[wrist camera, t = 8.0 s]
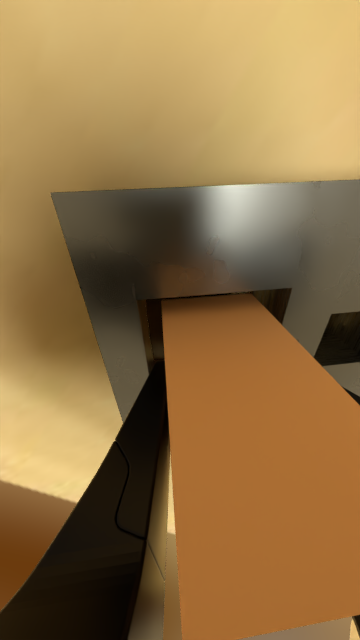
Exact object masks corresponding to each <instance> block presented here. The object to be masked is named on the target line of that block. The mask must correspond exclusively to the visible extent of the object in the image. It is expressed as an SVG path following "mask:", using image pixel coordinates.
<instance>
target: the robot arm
mask: <svg viewBox="0 0 360 640" xmlns="http://www.w3.org/2000/svg"><path fill="white" fill-rule="evenodd" d="M341 387H342V386H341ZM342 388H343V389H344V390H345V391H346V392H347V393H348V394H349V395H350V396H351V397H352V398H353V399H354V400H355V401H356V402H357V403H358V404H359V405H360V396H358V395H356V394H354V393H353V392H351V391H349V390H347V389H346V388H344V387H342ZM169 467H170V434H169V418H168V402H167V386H166V371H165V360H161V361H156V362H155V364H154V366H153V368H152V370H151V372H150V374H149V376H148V378H147V379H146V381H145V383H144V385H143V387H142V389H141V391H140V393H139V395H138V397H137V398H136V400H135V402H134V404H133V406H132V408H131V410H130V412H129V414H128V416H127V417H126V419H125V421H124V423H123V425H122V427H121V429H120V431H119V433H118V435H117V436H116V438H115V441H114V442H113V444H112V446H111V448H110V449H109V451H108V453H107V455H106V457H105V459H104V460H103V462H102V464H101V466H100V468H99V469H98V471H97V473H96V475H95V476H94V478H93V479H92V481H91V483H90V484H89V486H88V487H87V489H86V491H85V492H84V494H83V495H82V497H81V498H80V500H79V502H78V503H77V505H76V506H75V508H74V509H73V511H72V512H71V514H70V516H69V517H68V519H67V520H66V521H65V523H64V525H63V526H62V528H61V529H60V531H59V532H58V534H57V535H56V537H55V538H54V540H53V541H52V543H51V545H50V546H49V548H48V549H47V551H46V552H45V554H44V555H43V557H42V558H41V560H40V561H39V563H38V564H37V566H36V567H35V569H34V570H33V571H32V573H31V574H30V576H29V577H28V579H27V580H26V581H25V582H24V584H23V585H22V586H21V587H20V589H19V590H18V591H17V593H16V594H15V595H14V596H13V597H12V599H11V600H10V601H9V602H8V603H7V604H6V605H5V607H4V608H3V609H2V610H1V611H0V640H163V622H164V596H165V582H164V581H165V570H166V568H165V567H166V544H167V519H168V493H169ZM352 618H353V621H354V623H355V626H356V629H357V632H358V635H359V638H360V615H356V616H352Z"/></svg>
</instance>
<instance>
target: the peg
mask: <svg viewBox="0 0 360 640" xmlns="http://www.w3.org/2000/svg"><path fill="white" fill-rule="evenodd" d="M161 307H162V323H163V339H164V355H165V371H166V386H167V402H168V418H169V434H170V450H171V466H172V482H173V498H174V514H175V530H176V546H177V562H178V577H179V593H180V607H181V608H180V610H181V626H182V640H237V639H242V638H247V637H252V636H257V635H262V634H267V633H272V632H277V631H281V630H286V629H291V628H296V627H301V626H306V625H311V624H316V623H321V622H326V621H331V620H336V619H341V618H346V617H351V616H356V615H360V405H359V404H358V403H357V402H356V401H355V400H354V399H353V398H352V397H351V396H350V395H349V394H348V393H347V392H346V391H345V390H344V389H343V388H342V387H341V386H340V385H339V384H338V382H337V381H336V380H335V379H334V378H333V377H332V376H331V375H330V374H329V373H328V372H327V371H326V370H325V369H324V368H323V367H322V366H321V365H320V364H319V363H318V362H317V361H316V360H315V359H314V358H313V357H312V356H311V355H310V354H309V353H308V351H307V350H306V349H305V348H304V347H303V346H302V345H301V344H300V343H299V342H298V341H297V340H296V339H295V338H294V337H293V336H292V335H291V334H290V333H289V332H288V331H287V330H286V329H285V328H284V327H283V326H282V325H281V324H280V323H279V322H278V320H277V319H276V318H275V317H274V316H273V315H272V314H271V313H270V312H269V311H268V310H267V309H266V308H265V307H264V306H263V305H262V304H261V303H260V302H259V301H258V300H257V299H256V298H255V297H254V296H253V295H252V294H251V293H246V294H234V295H221V296H208V297H196V298H183V299H171V300H161Z"/></svg>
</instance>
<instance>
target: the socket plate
mask: <svg viewBox="0 0 360 640" xmlns="http://www.w3.org/2000/svg"><path fill="white" fill-rule="evenodd" d="M51 197H52V200H53V203H54V206H55V209H56V212H57V216H58V219H59V222H60V225H61V228H62V231H63V235H64V238H65V241H66V244H67V247H68V250H69V253H70V257H71V260H72V263H73V266H74V269H75V272H76V276H77V279H78V282H79V285H80V288H81V291H82V294H83V298H84V301H85V304H86V307H87V310H88V313H89V317H90V320H91V323H92V326H93V329H94V332H95V335H96V339H97V342H98V345H99V348H100V351H101V354H102V358H103V361H104V364H105V367H106V370H107V373H108V376H109V380H110V383H111V386H112V389H113V392H114V395H115V399H116V402H117V405H118V408H119V411H120V414H121V417H122V421H123V423H124V421H125V419H126V417H127V416H128V414H129V412H130V410H131V408H132V406H133V404H134V402H135V400H136V398H137V397H138V395H139V393H140V391H141V389H142V387H143V385H144V383H145V381H146V379H147V378H148V376H149V374H150V372H151V370H152V368H153V366H154V364H155V362H156V361H161V360H156V361H154V359H153V352H152V345H151V338H150V331H149V324H148V317H147V310H146V302H145V300H146V299H158V298H171V297H183V296H195V295H208V294H220V293H233V292H245V291H253V292H252V295H253V296H254V297H255V298H256V299H257V300H258V301H259V302H260V303H261V304H262V305H263V306H264V307H265V308H266V309H267V310H268V311H269V312H270V313H271V314H272V315H273V316H274V317H275V318H276V319H277V320H278V322H279V323H280V324H281V325H282V326H283V327H284V328H285V329H286V330H287V331H288V332H289V333H290V334H291V335H292V336H293V337H294V338H295V339H296V340H297V341H298V342H299V343H300V344H301V345H302V346H303V347H304V348H305V349H306V350H307V351H308V353H309V354H310V355H311V356H312V357H313V358H314V359H315V360H316V361H317V362H318V363H319V364H320V365H321V366H322V367H323V368H324V369H325V370H326V371H327V372H328V373H329V374H330V375H331V376H332V377H333V378H334V379H335V380H336V381H337V382H338V384H339V385H340V386H342V387H344V388H346V389H347V390H349V391H351V392H353V393H354V394H356V395H358V396H360V180H339V181H316V182H292V183H268V184H244V185H221V186H197V187H173V188H149V189H126V190H102V191H78V192H55V193H51Z"/></svg>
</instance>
